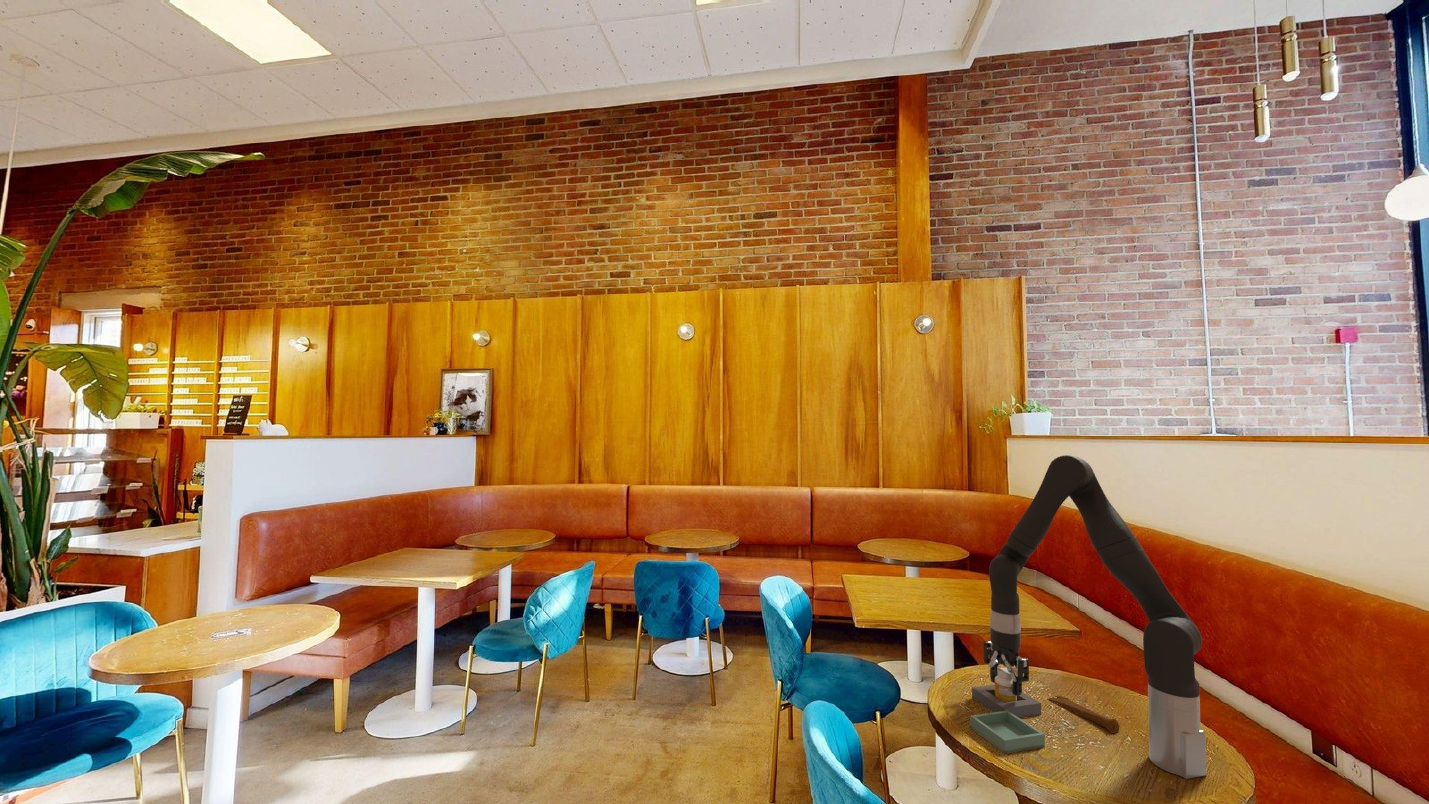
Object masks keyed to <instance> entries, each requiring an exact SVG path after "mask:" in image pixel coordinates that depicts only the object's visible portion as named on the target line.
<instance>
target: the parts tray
mask: <svg viewBox="0 0 1429 804" xmlns="http://www.w3.org/2000/svg"><path fill="white" fill-rule="evenodd" d="M969 716H970V717H969V720H970V721H969V728H970V729H971V730H972V731H974V732H975V733H976V734H978V735H979V736H981V737H982V738H983V739H985V740H986V741H987V742H989V744H992V745H993V746H994V745H995V746H994V747H995V748H997V749H998V748H999V749H998V750H999V751H1001V752H1002V751H1003V752H1002V753H1004V754H1005V753H1006V754H1011V753H1017V752H1022V751H1028V750H1029V751H1030V750H1034V749H1035V750H1036V749H1040V748H1045V747H1046V743H1045V742H1046V740H1045V739H1046V734H1045V733H1043V732H1042V731H1040V730H1039V729H1037V728H1036V727H1035V726H1032V725H1031V724H1030V723H1027V722H1026V721H1024V720H1023V719H1022V718H1018V717H1017V716H1015V715H1014V714H1012V713H1011V712H1009V711H1000V712H988V713H980V714H975V715H974V714H973V715H969Z"/></svg>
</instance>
